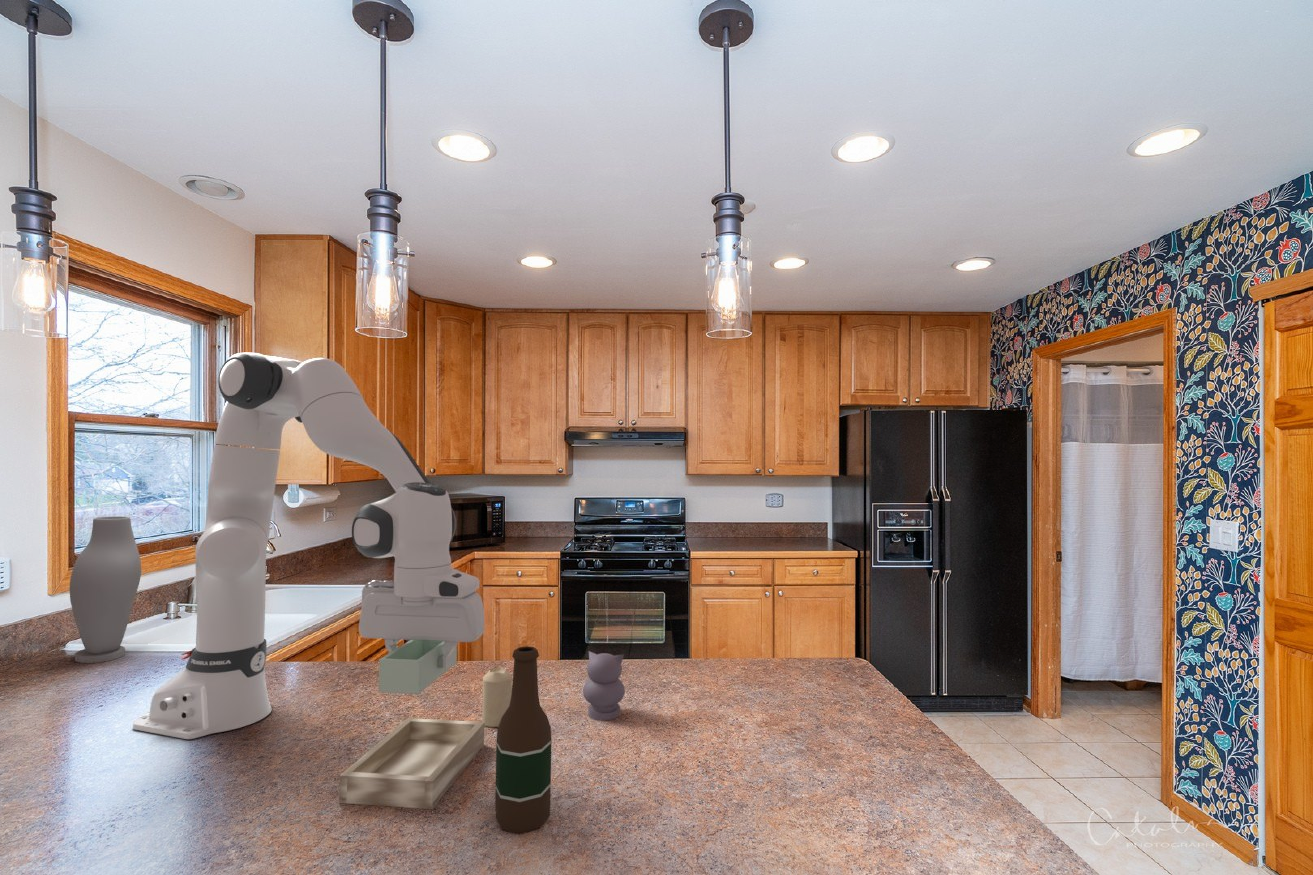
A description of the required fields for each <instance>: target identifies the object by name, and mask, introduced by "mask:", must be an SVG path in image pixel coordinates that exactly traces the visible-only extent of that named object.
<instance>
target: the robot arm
mask: <svg viewBox="0 0 1313 875" xmlns="http://www.w3.org/2000/svg"><path fill="white" fill-rule="evenodd" d="M217 379H218V383H217V384H218V388H219V392H220V394H221V396H222V398H223V400H224V401H225V404H224V406H223V409H222V412H221V415H220V418H219V421H218V424H217V428H216V432H215V433H216V434H215V436H214V437H215V439H214V444H213V450H212V457H211V464H210V471H209V478H208V486H207V504H206V505H207V507H206V516H205V524H204V526H205V527H204V532H203V533H202V534H201V536H200V537H199V538H198V540H197V543H196V547H195V591H196V594H195V595H196V596H195V597H196V628H195V629H196V633H195V635H196V636H195V647H194V648H192V649H191V650H189V651H185V652H184V653H181V656H183V657H182V658H181V660H183V661H184V660H186V659H188V661H187V663H186V666H185V668H184V669H182V670H181V671H179V672H178V673H177V674H175V675H174V676H173V677H172V678H170V679H169V680H168V681H166V682H165V683H164V684H163V685H161V686H160V687H158V689H156V691H154V694H153V695H152V698H151V702H150V707H149V712H147V713H145V714H143V715H141V716H140V717H138V719H136V720H135V721H134V722H133V724H132V729H133V730H135V731H141V732H146V733H152V734H157V735H163V736H168V737H173V738H177V739H184V740H193V739H198V738H201V737H204V736H207V735H212V734H216V733H222V732H227V731H232V730H236V729H241V728H242V727H247V726H249V725H251V724H254V723H257V722H259V721H261V720H263V719H264V718H266V717H267V716H268V715H270V714H271V712H272V710H273V708H272V706H271V703H270V700H269V694H268V689H267V682H266V674H265V673H266V672H265V666H266V662H267V639H265V628H266V627H265V625H266V624H265V623H266V622H265V621H266V580H267V579H266V577H267V576H266V575H267V573H266V572H267V571H266V570H267V548H268V543H269V537H270V529H271V523H272V522H271V520H272V513H273V505H274V499H275V498H274V497H275V490H276V484H277V474H278V467H279V460H280V455H281V451H280V450H281V446H282V445H281V444H282V435H283V434H282V433H283V428H284V427H285V425H286V423H287V422H288V421H291V419H295V420H296V421H297V422H298V423H302V424H303V427H304V429H305V432H306V434H307V436H308V438H309V439H310V440H311V442H312V443H313V444H314V445H315V446H316V447H317V449H318V450H320V451H321V452H323V453H325V454H326V455H329V456H331V457H335V458H338V459H342V460H346V461H350V462H355V463H358V464H361V465H364V466H367V467H369V468H372V469H373V470H376V471H378V473H380V474H382V475H383V477H385V478H386V479H387V481H388V482H389V484H390V485H391V487H392V488H393V490H394V491H395V492H394V493H393V494H391V495H389V496H387V497H386V498H383V499H380V500H377V501H374V502H371V503H368V504H364V505H363V506H362V507H361V508H360V509H359V510H358V511H357V513H356V514H355V516H354V518H353V521H352V525H351V538H352V542H353V545H354V546H355V548H356V549H357V551H358V552H359V553H361V554H362V555H363V556H364V557H366V558H372V559H385V558H392V557H394V566H393V568H394V570H393V580H379V579H373V580H371V581H370V582H368V583H366V584H364V586H363V588H362V590H361V602H362V605H361V610H360V614H359V622H358V623H359V624H358V632H359V634H360V636H361V637H362V638H363V639H381V640H382V639H383V640H384V646H385V648H386V650H387V652H388V654H389V653H390V652H392V651H394V650H395V649H397V648H398V647H399V645H398V644H397V643H399V642H400V640H404V641H405V640H407V641H410V640H428V641H444V647H445V648H447V647H448V648H447V650H446V652H445V653H444V654H442V655H441V656H439V657H438V658H437V662H438V664H437V667H438V668H448V667H449V666H450V656H451V654H452V652H453V651H454V649H455V647H456V646H457V647H458V643H473V642H476V641H477V640H478V639H479V638H481V636H482V635H483V634H484V632H485V610H484V604H483V599H482V597H481V595H480V594H479V593H478V592H476V591H477V590H478V589H479V588H480V582H481V581H480V578H478V577H477V576H474V575H472V574H468V573H465V572H462V571H461V570H458V569H456V568H453V567H452V556H451V555H450V543H451V541H452V540H453V538H454V536H455V534H456V530H457V517H456V514H455V512H454V509H453V508H452V505H451V499H450V496H449V492H448V490H447V489H446V488H444V487H443V486H441V485H439V484H435V483H431V482H430V480H428V478H427V476H426V475H425V473H424V472H423V470H422V469H421V468H420V466H419V465H418V463H417V462H416V460H415V459H414V457H413V456H412V455H411V453H410V452H409V450H408V449H407V447H406V446H405V444H403V442H402V441H401V440H400V438H399V437H398V436H397V435H395V434H394V433H393V432H391V431H390V430H389V429H387V428H386V426H385V425H384V424H382V423H381V421H380V420H379V419H378V418H377V417H376V416H375V414H374V413H373V412H372V411H371V409H370V408H369V406H368V404H366V402H365V400H364V399H365V398H363V395H362V393H361V392H360V390H359V388H358V387H357V385H356V383H355V382H354V381H353V379H352V378H351V376H350V375H349V373H348V372H347V371H346V369H344V367H343V366H342V365H341V364H340V363H338V362H337V361H335V360H333V359H330V358H325V357H316V358H312V359H307V360H306V361H300V360H296V359H293V358H283V357H277V356H272V355H271V356H270V355H264V354H263V353H258V352H238V353H235V354H233V355H231V356H230V357H229V358H228V359H227V360H225V362H223V363H222V366H221V368H220V371H219V374H218V378H217ZM184 655H185V656H184Z"/></svg>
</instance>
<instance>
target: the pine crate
mask: <svg viewBox="0 0 1313 875" xmlns="http://www.w3.org/2000/svg"><path fill="white" fill-rule="evenodd" d="M484 745H485V725H484V722H482V721H472V720H471V721H470V720H455V719H454V720H451V719H449V720H448V719H435V718H434V719H432V718H415V717H414V718H412V717H406V719H404V720H403V721H402V722H401V723H400V724H399V725H398V726H396V727H395V728H394V729H393V730H391V731H390V732H389V733H388V734H386V735H385V737H382V739H381V740H380V741H379V742H378V743H376V744H375V745H374V746H372V748H370V749H369V750H368V751H367V752H366V753H365V754H363V755H362V756H361V757H360V758H359V759H357V760H356V761H355V762H354V763H352V765H350V766H349V767H348V768H346V770H344V771H343V772H342V773H340V775H339V781H338V782H339V783H338V785H339V786H338V787H339V789H338V804H350V805H352V804H353V805H363V806H364V805H366V806H377V807H378V806H379V807H393V808H407V809H408V808H410V809H422V810H423V809H425V810H433V809H434V808H435V806H436V805H437V804H438V803H439V801H440V800H441V799H442V798H443V797H444V795H445V794H446V793H447V792H448V791H449V789H450V788H451V786H453V784H455V782H456V780H457V779H458V777H459V776H460V775H461V774H462V773H463V771H464V770H465V769H466V768H467V766H469V764H470V763H471V762H472V760H473V759H474V758H475V757H476V756H477V754H478V753H479V752H480V750H481V749H482V748H483V747H484Z"/></svg>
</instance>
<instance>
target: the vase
mask: <svg viewBox="0 0 1313 875" xmlns="http://www.w3.org/2000/svg"><path fill="white" fill-rule="evenodd" d="M141 577H142V561H141V556H140V552H139V549H138V545H137V542H136V539H135V536H134V532H133V528H132V521H131V517H130V516H126V515H125V516H123V515H121V516H120V515H118V516H117V515H116V516H115V515H113V516H98V517H94V518H93V519H92V528H91V536H90V539H89V542H88V544H87V545H85V547H84V549H83V550H82V551H81V552H80V554H79V555H78V557H77V558H76V561H75V563H74V565H73V567H72V570H71V573H70V580H69V588H68V589H69V600H70V605H71V609H72V613H73V617H74V621H75V624H76V627H77V630H78V634H79V637H80V640H81V643H82V645H83V647H84V648H83V649H80V650H77V651H76V652H75V653H74V661H75V662H77V663H81V664H90V663H91V664H93V663H94V664H95V663H102V662H103V663H104V662H108V661H113V660H117V659H120V658H122V657H124V656H125V653H126V647H125V646H123V645H122V642H123V639H124V637H125V634H126V631H127V628H128V623H129V620H130V617H131V613H132V609H133V605H134V603H135V599H136V595H137V593H138V589H139V587H140V586H139V585H140V581H141Z"/></svg>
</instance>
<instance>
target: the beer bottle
mask: <svg viewBox="0 0 1313 875" xmlns="http://www.w3.org/2000/svg"><path fill="white" fill-rule="evenodd" d="M538 651H539V650H538V649H537V648H536V647H533V646H528V645H527V646H526V645H525V646H519V647H517V648H515V649H514V650H513V652H512V655H511V656H512V658H513V660H514V661H513V672H512V695H511V700H510V705H509V707H508V709H507V710H506V712H505V713H504V715H503V716H502V718H501V721H500V724H499V726H498V727H497V730H496V731H497V733H496V745H495V748H496V749H495V789H494V790H495V794H494V795H495V796H494V801H495V802H494V808H495V819H496V821H497V824H498V825H499V828H500V830H501V831H503V832H507V833H512V834H516V835H517V834H518V835H520V834H521V835H522V834H525V833H528V832H532V831H536V830H539V829H540V828H541V827H542V826H543V825H544V823H545V822H547V820H548V819H549V817H550V815H551V814H550V813H551V795H552V794H551V792H552V790H551V789H552V787H551V786H552V727H551V724H550V721H549V718H548V716H547V714H546V712H545V711H544V709H543V708H542V706H541V704H540V703H541V702H540V697H539V683H538V682H539V681H538V680H539V679H538V661H537V660H538V658H539V656H540V654H539V652H538Z"/></svg>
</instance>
